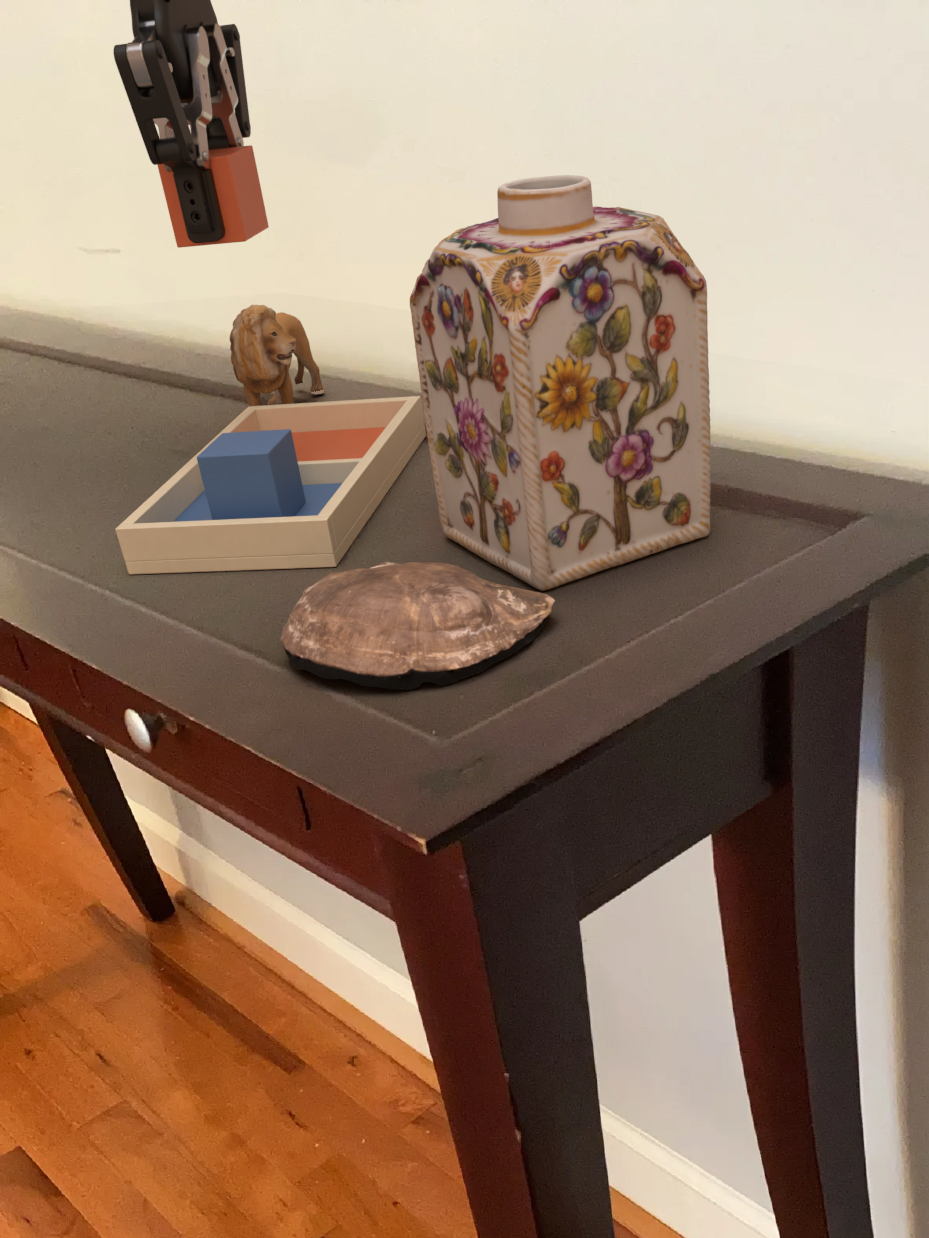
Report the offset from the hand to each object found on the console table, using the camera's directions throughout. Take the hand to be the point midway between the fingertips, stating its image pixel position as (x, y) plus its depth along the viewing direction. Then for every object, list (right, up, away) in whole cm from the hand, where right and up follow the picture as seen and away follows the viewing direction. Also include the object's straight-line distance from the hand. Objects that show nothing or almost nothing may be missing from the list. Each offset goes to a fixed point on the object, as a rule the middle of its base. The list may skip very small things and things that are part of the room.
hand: (222, 231), depth 79 cm
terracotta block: (0, 0, 0) cm, 0 cm away
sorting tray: (+3, -15, +5) cm, 16 cm away
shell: (+13, -29, -14) cm, 35 cm away
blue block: (+3, -18, 0) cm, 18 cm away
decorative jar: (+22, -21, -6) cm, 31 cm away
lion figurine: (+1, -3, +21) cm, 21 cm away
